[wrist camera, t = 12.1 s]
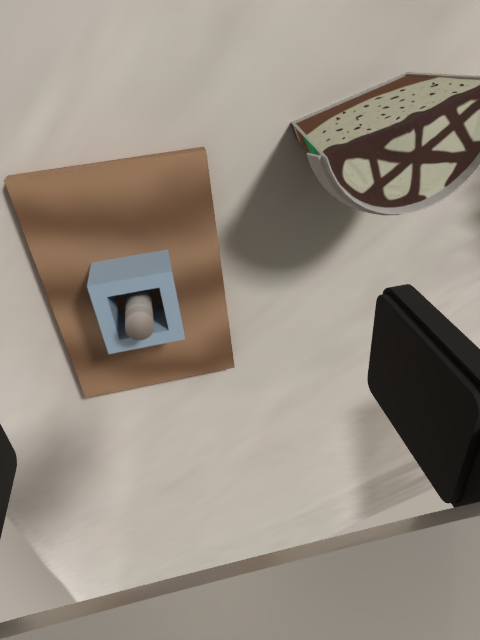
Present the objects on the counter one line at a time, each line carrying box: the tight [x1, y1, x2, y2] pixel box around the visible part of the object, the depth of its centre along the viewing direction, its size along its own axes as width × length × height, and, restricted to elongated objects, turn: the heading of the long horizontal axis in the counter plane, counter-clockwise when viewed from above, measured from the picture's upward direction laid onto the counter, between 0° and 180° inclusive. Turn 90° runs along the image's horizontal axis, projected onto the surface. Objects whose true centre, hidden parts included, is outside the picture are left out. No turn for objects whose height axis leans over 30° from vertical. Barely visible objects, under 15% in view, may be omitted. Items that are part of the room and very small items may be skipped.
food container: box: [291, 72, 480, 215], centre depth 32 cm, size 12×6×10 cm, turn 110°
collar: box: [87, 250, 185, 354], centre depth 36 cm, size 6×6×4 cm
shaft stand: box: [4, 147, 234, 398], centre depth 36 cm, size 20×14×7 cm
